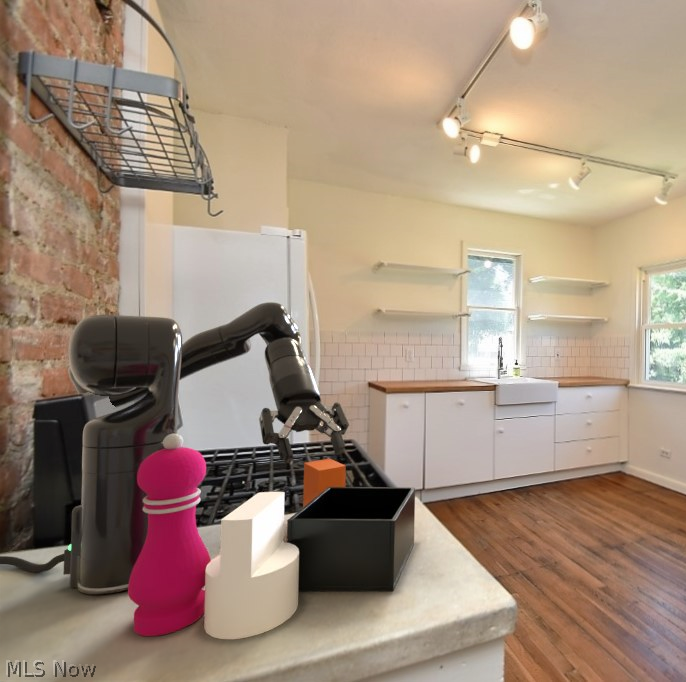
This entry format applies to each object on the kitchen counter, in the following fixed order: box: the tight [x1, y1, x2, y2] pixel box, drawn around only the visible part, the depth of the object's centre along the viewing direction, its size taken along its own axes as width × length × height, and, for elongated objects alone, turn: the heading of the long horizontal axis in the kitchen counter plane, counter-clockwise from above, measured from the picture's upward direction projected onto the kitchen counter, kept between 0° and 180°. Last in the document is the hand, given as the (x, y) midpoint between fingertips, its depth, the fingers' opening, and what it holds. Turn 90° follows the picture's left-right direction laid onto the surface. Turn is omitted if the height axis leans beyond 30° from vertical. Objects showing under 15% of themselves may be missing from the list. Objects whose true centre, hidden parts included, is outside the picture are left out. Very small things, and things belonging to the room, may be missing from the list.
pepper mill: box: [127, 433, 212, 637], centre depth 49 cm, size 7×7×20 cm
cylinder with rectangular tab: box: [203, 491, 299, 640], centre depth 50 cm, size 9×9×12 cm
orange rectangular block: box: [302, 458, 347, 508], centre depth 75 cm, size 4×6×10 cm
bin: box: [286, 486, 416, 592], centre depth 61 cm, size 13×13×9 cm
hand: (315, 456), depth 78 cm, fingers open, 8 cm apart
